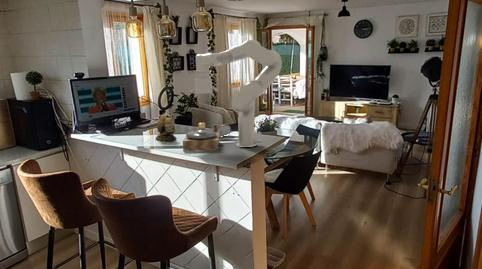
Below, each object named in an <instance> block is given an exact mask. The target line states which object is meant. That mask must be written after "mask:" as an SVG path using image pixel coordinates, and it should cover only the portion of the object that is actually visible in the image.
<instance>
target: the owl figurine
mask: <svg viewBox="0 0 482 269" xmlns="http://www.w3.org/2000/svg"><path fill="white" fill-rule="evenodd" d="M156 129H157V132H158V133H159V134H158V135H156V136H155V140H156V141H158V142H162V141H165V142H166V143H167V142H168V143H169V142H172V141H173V142H174V141H177V140H176V139H178V138H177V137H176V135H174V134H175V133H176V130H175V129H176V127H175V124H174V122H173V118H172V117H167V114H165V113H164V114H161V116H160V117H159V118H158V120H157V121H156ZM165 142H164V143H165Z"/></svg>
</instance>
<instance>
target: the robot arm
mask: <svg viewBox="0 0 482 269" xmlns="http://www.w3.org/2000/svg"><path fill="white" fill-rule="evenodd" d="M248 58H250V59H251V60H253V61H255V62H256V63H259V64H260V65H262V66H264V67H265V68H263V70H262V71H261V72H260V73H259V74H258V75H257V77H256V78H255V79H253V80H249V81H247V83H245V84H244V86H243V87H242V88H241V89H240V90H239V92H238V93H237V94H236V95H235V96H234V98H233V100H232V107H233V109H234V110H235V111H237V112H238V114H237V115H238V116H237V117H238V118H237V122H238V124H237V125H238V126H237V127H238V142H236V144H235V145H237V146H249V145H253V144H256V143H257V144H262V143H263V139H260V138H258V139H256V138H255V112H256V111H255V110H256V99H257V98H258V97H260V96H262V95H263V94H264V93H265V92H266V90H267V89H269V87H270V86H271V84H272V83H273V82H274V81H275V80H276V78H277V77H278V76H279V74H280V72H281V70H282V67H283V61H282V57H281V54H280V53H279V52H278V51H276V50H274V49H273V50H272V49H268V48H265V47H264V46H263V45H261V43H260V41H258V40H255V39H247V40H245V41H244V42H243V43H239V44H236V45H233V46H231V47H230V49H227V50H225V51H221V52H218V53H216V52H212V53H199V54H196V55H195V68H196V72H195V73H194V76H195V83H194V85H195V86H194V87H193V88H192V89H191V88H190V90H189V92H190V94H191V95H192V97H194V102H195V104H198V102H199V101H198V95H207V94H210V95H211V103H212V104H213V103H214V102H215V96H216V94H217V93H218V91H219V89H218V88H217V87H214V86H213V84H212V83H213V82H212V78H211V77H210V67H219V66H223V65H226V64H231V63H235V62H237V61H241V60H244V59H248ZM213 90H214V92H213ZM193 91H195V93H194V92H193ZM237 146H236V147H237Z"/></svg>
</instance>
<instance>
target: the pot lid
mask: <svg viewBox="0 0 482 269" xmlns="http://www.w3.org/2000/svg"><path fill="white" fill-rule="evenodd" d="M197 124H198V130H193V131H189V132H187V133H186V134H185V136H186V137H187V138H189V139H210V138H214V137H216V136H217V135H216V132H214V130H206V122H199V123H197Z"/></svg>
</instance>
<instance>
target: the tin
mask: <svg viewBox="0 0 482 269" xmlns="http://www.w3.org/2000/svg"><path fill="white" fill-rule="evenodd" d="M231 130H232V129H231V126H230V125H229V124H226V123H224V124H223V123H222V124H219V125H216V126H215V127H214V129H213V131H214V132H216V133H219V137H221V136H224V135H227V134H229V135H231Z"/></svg>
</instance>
